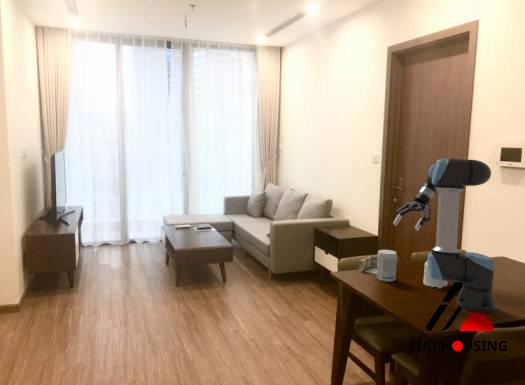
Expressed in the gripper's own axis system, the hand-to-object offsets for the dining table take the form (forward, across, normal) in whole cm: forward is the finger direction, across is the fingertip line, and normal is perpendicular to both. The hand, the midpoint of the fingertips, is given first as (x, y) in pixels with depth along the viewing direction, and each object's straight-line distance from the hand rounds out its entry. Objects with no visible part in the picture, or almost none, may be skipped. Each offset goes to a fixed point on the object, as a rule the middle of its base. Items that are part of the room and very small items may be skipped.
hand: (405, 226), depth 225 cm
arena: (+24, +11, -14) cm, 30 cm away
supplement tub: (+28, 0, -10) cm, 30 cm away
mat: (+24, +11, -14) cm, 30 cm away
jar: (+17, -18, -21) cm, 33 cm away
